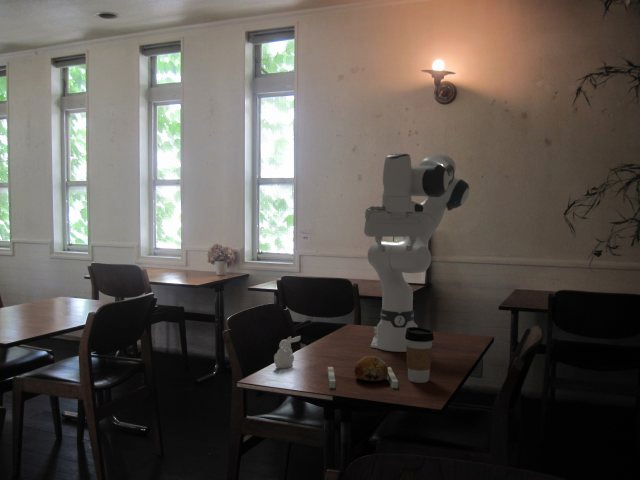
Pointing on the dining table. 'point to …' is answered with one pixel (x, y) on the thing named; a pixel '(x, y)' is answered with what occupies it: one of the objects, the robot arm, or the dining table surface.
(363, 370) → the bread roll
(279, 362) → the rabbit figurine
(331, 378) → the channel
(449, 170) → the robot arm
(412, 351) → the coffee cup
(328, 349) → the dining table surface
